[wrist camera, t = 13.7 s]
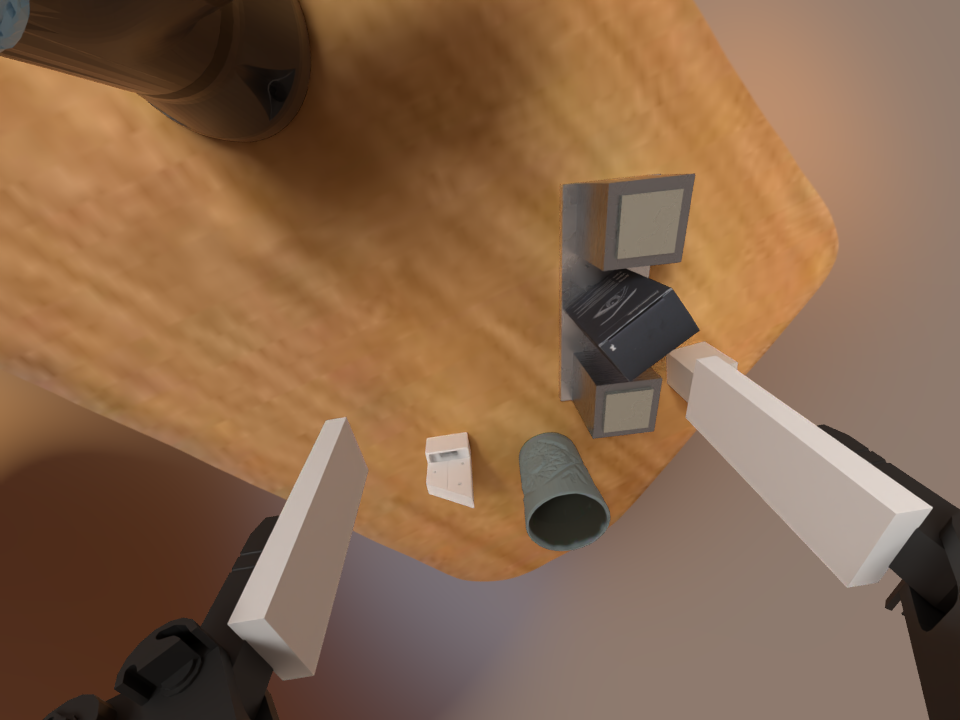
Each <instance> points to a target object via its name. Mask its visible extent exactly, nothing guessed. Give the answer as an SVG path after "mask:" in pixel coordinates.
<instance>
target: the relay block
mask: <svg viewBox="0 0 960 720" xmlns="http://www.w3.org/2000/svg"><path fill="white" fill-rule="evenodd" d="M712 356H718V357H719V358H720V359H722V360H723V361H725V362H726V363H728V364H729V365H730V366H732V367H733V368H735V369H736V370H737V365H738V362H737V361H735V360H733V359H732V358H730V357H729V356H727V355H725V354H724V353H722V352H721V351H719V350H717V349H716V348H714V347H713V346H711V345H710V344H708V343H706V342H705V341H704V342H700V343H697V344H693V345H689V346H685V347H682V348H678V349H674V350H673V351H671V352H670V353H669V354H667V355H666V363H667V384H668V385H670V386H671V387H672V388H673V389H674V390H675V391H676V392H677V393H678V394H679V395H680V396H681V397H682V398H683V399H684V400H686V401H687V402H688V401H689V396H690V390H691V385H692V379H693V374H694V368H695V363H696V359H700V358H706V357H712Z"/></svg>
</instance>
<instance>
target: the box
mask: <svg viewBox="0 0 960 720" xmlns="http://www.w3.org/2000/svg"><path fill="white" fill-rule="evenodd" d="M566 313H567V314H568V316H569V317H570V318H571V319H572V320H573V321H574V322H575V324H576V325H577V326H578V327H579V328H580V330H581V331H582V332H583V333H584V334H585V335H586V337H587V338H588V339H589V340H590V341H591V342H592V343H593V345H594V346H595V347H596V348H597V349H598V350H599V351H600V352H601V353H602V354H603V355H604V356H605V357H606V358H607V359H608V360H609V362H610V363H611V364H612V365H613V366H614V367H615V368H616V369H617V370H618V371H619V372H620V373H621V374H622V375H623V376H624V377H625V379H626V380H627V381H629V382H631V381H632V380H634V379H635V378H636V377H638V376H639V375H640V374H642V373H643V372H644V371H646V370H647V369H648V368H650V367H651V366H652V365H654V364H655V363H656V362H658V361H659V360H660V359H662V358H663V357H664V356H666V355H667V354H669V353H670V352H671V351H673V350H674V349H675V348H677V347H678V346H679V345H681V344H682V343H683V342H685V341H686V340H687V339H689V338H690V337H691V336H693V335H694V334H696V333H697V332H698V331H699V328H698V327H697V325H696V323H695V322H694V320H693V319H692V317H691V315H690V314H689V312H688V311H687V309H686V308H685V306H684V305H683V303H682V302H681V301H680V299H679V298H678V296H677V295H676V293H675V292H674V290H673V289H672V288H670V287H668V286H666V285H663V284H661V283H659V282H656V281H654V280H651V279H649V278H647V277H645V276H642V275H640V274H638V273H636V272H633V271H631V270H629V269H627V268H625V269H616V270H613V271H612V272H611V273H610V274H609V275H607V276H606V277H605V278H604V279H603V280H601V281H600V282H599V283H598V284H597V285H595V286H594V287H593V288H592V289H591V290H590V291H588V292H587V293H586V294H585V295H584V296H582V297H581V298H580V299H579V300H578V301H577V302H575V303H574V304H573V305H572V306H571V307H569V308H568V309H567V310H566Z"/></svg>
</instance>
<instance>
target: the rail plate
mask: <svg viewBox="0 0 960 720" xmlns="http://www.w3.org/2000/svg"><path fill="white" fill-rule="evenodd" d="M694 179H695V174H672V175H661V174H652V175H643V176H634V177H625V178H616V179H607V180H598V181H589V182H580V183H571V184H562V185H560V290H559V398H560V400H561V401H566V400H572V401H573V402H574V404H575V406H576V408H577V410H578V412H579V414H580V415H581V417H582V419H583V421H584V423H585V425H586V426H587V428H588V430H589V432H590V434H591V436H592V437H593V439H594V438H602V437H611V436H619V435H627V434H635V433H644V432H652V431H654V428H655V422H656V415H657V409H658V403H659V397H660V391H661V384H662V377H661V376H660V375H659V374H658V373H656V372H655V371H654V370H653V369H652V368H651V367H650V368H648V369H647V370H646V371H644V372H643V373H642V374H640V375H639V376H638V377H636V378H635V379H634V380H632V381H631V382H629V381H627V380H626V379H625V377H624V376H623V375H622V374H621V373H620V372H619V371H618V370H617V369H616V368H615V367H614V366H613V365H612V364H611V363H610V362H609V360H608V359H607V358H606V357H605V356H604V355H603V354H602V353H601V352H600V351H599V350H598V349H597V348H596V347H595V346H594V345H593V343H592V342H591V341H590V340H589V339H588V338H587V337H586V335H585V334H584V333H583V332H582V331H581V330H580V328H579V327H578V326H577V325H576V324H575V322H574V321H573V320H572V319H571V318H570V317H569V316H568V314H567V313H566V310H567V309H568V308H569V307H571V306H572V305H573V304H574V303H575V302H577V301H578V300H579V299H580V298H581V297H582V296H584V295H585V294H586V293H587V292H588V291H590V290H591V289H592V288H593V287H594V286H595V285H597V284H598V283H599V282H600V281H601V280H603V279H604V278H605V277H606V276H607V275H609V274H610V273H611V272H612V271H613V270H616V269H625V268H627V269H629V270H631V271H633V272H636V273H638V274H640V275H642V276H645V277H647V278H649V271H650V266H651V265H660V264H669V263H677V262H681V260H682V253H683V247H684V241H685V235H686V228H687V222H688V216H689V210H690V203H691V197H692V191H693V185H694Z"/></svg>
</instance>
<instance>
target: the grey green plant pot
mask: <svg viewBox="0 0 960 720" xmlns="http://www.w3.org/2000/svg"><path fill="white" fill-rule="evenodd" d="M519 465H520V474H521V482H522V490H523V493H524V500H523V501H524V507H525V522H526V530H527V533H528V535H529V537H530V538H531V539H532V540H533V541H534V542H535V543H537V544H538V545H539V546H541V547H544V548H546V549H549V550H555V551H569V550H575V549H579V548H582V547H585V546H587V545H589V544H591V543H593V542H594V541H596V540H597V539H598V538H599V537H601V536H602V535H603V534H604V532H605V531H606V529H607V528H608V526H609V522H610V511H609V509H608V506H607V505H606V503H605V501H604V499H603V497H602V495H601V494H600V492H599V490H598V489H597V487H596V486H595V484H594V482H593V480H592V478H591V476H590V474H589V473H588V470H587V468H586V467H585V466H584V464H583V461H582V460H581V457H580V455H579V453H578V451H577V449H576V447H575V445H574V444H573V442H572V441H571V440H570V439H569V438H567V437H566V436H564V435H562V434H559V433H543V434H539V435H537V436H535V437H533V438H531V439H530V440H528V441H527V442H526V443H525V444H524V445H523V447H522V448H521V451H520V454H519Z"/></svg>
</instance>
